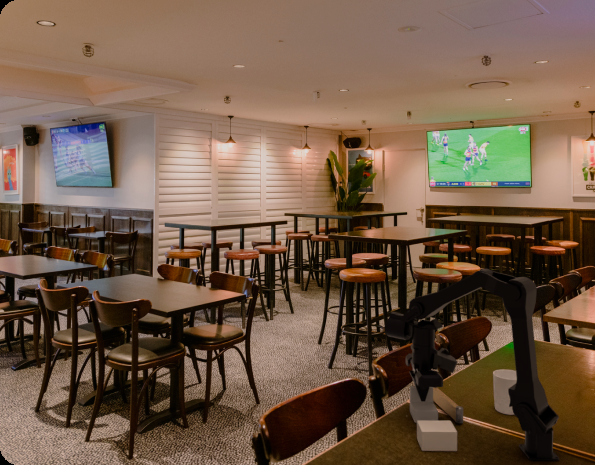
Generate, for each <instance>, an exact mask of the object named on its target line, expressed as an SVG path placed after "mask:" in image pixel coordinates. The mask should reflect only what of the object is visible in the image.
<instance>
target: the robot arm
mask: <svg viewBox="0 0 595 465" xmlns="http://www.w3.org/2000/svg"><path fill="white" fill-rule="evenodd" d="M481 288H482V289H484V290H486V291H488V292H489V293H491V294H492V295H494V296H497V297H500V298H501V300H502V303H503V306H504V309H505V311H506V312H507V315H508V316H509V318H510V323H511V334H512V345H513V354H514V364H515V371H516V376H517V381H516V384H514V385H513V386H512V387H510V388H509V389H508V393H509V397H510V404H509V407H512V410H513V413H514V416H515V417H516V418H517V420H518V422H519V425H520V429H521V431H523V432H524V444H523V443H520V444H518V447H519V449H520V450H521V451H522V452H523V454H524V455H525V457H526V458H528V459H529V460H530V461H559V460H560V457H559V456H558V455H557V454H556V453H555V452H554V450H553V448H554V428H553V427H554V426H555V425H556V424H557V422H558V420H559V418H560V417H559V415H558V413H557V412H555V410H554V409H553V407H552V406H551V405H550V404H549V402H548V398H547V394H546V390H545V388H544V385H542V382H541V381H540V379H539V375H538V374H539V373H538V363H537V362H538V361H537V354H536V342H535V335H534V334H535V333H534V332H535V331H534V323H533V315H534V310H535V308H536V307H535V306H536V304H537V302H536V301H537V284H536V283H535V282H534V281H533V280H532V279H530V278H529V277H526V276H519V277H516V276H513V275H510V274H506V273H502V272H498V271H495V270H491V269H489V268H484V269H479V270H476V271H474V273H472V274H471V275H468V276H467V277H465V278H462V279H461V280H458V281H456V282H454V283H452V284H450V285H448V286H447V287H444V288H442V289H441V290H439V291H435V292H432V293H428V294H423V295H421V296H417V297H414V298H412V299H411V300H410V301H409V303H408V304H409V305H408V308H407V310H406V311H405V312H404V313H399V312H397V311H392V312H389V313H388V316H389V317H388V318H387V320H386V323H385V325H384V332H385V335H386V336H388V337H390V338H395V339H399V340H405V341H409V340H410V339H411V338H412V340H411V341H412V343H411V344H410V349H411V351H412V352H411V353H407V355H406V356H405V365H406V366H407V367H410V365H411V367H412V370H410V371H409V374H410V376H411V379H412V381H413V384H414V386H415V387H416V389H417V392H418V395H419V397H420V400H421V401H426V397H427V394H428V391H429V387H437V388H444V378H443V377H442V375H441V374H440V373H439V372H438V371H437V370H438V368H440V369H443V370H446V371H448V372H449V373H452V374H453V373H454V372H455V369H456V367H457V365H458V360H457V359H456V358H455V357H454V356H452V355H451V354H450V351H449V350H448V349H447V348H444V347H441V348H440V350H437V349H436V346H435V343H436V342H435V340H436V339H435V335H436V333H435V331H437V330H439V329H441V328H443V324H442V323H441V322H439V320H438V319H437V318H433V319H431V320H428V318H431V317H433V316H435V315H437V313H439V312H440V311H442V310H443V309H444V308H446V306H447V305H449V304H450V303H452V302H454V301H456V300H459V299H461V298H462V297H465V296H467V295H469V294H471V293H474V292H476V291H477V290H480V289H481ZM416 320H418V321H416Z"/></svg>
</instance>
